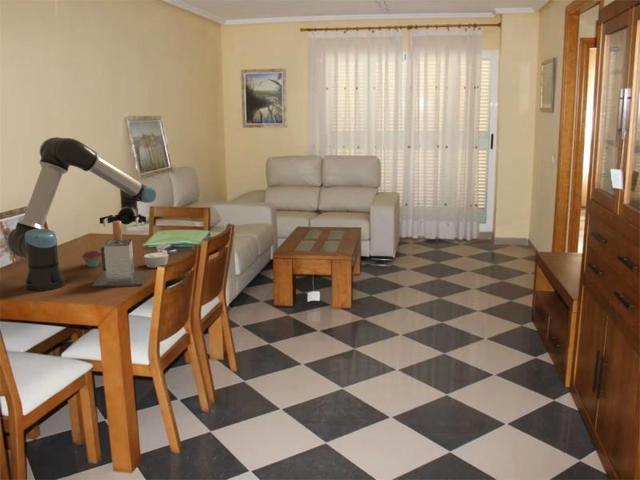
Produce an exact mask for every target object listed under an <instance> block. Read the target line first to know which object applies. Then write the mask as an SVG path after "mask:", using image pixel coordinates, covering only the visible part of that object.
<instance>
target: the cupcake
mask: <svg viewBox="0 0 640 480" xmlns="http://www.w3.org/2000/svg"><path fill="white" fill-rule="evenodd" d="M90 246H91V245H90V243H89V242H87V247H88V251H86V252H84V253H83V254H82V255H81V257H82V260H83V261H84V262H85V264H86V267H89V268H93V267H94V268H95V267H98V266H99V262H100V260H101V259H102V258H101V252H99V251H96V250H91V247H90Z"/></svg>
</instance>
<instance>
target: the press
mask: <svg viewBox="0 0 640 480" xmlns="http://www.w3.org/2000/svg"><path fill="white" fill-rule="evenodd" d="M100 254H101V258H100V259H101V269H102V271H103V272H104V273H99V275H98V276H97V277H96V280H95V281H94V283H93V284H92V286H91V287H92V289H101V288H103V289H105V288H123V287H124V288H126V287H142V286H143V285H144V283H145V280H146V278H147V275H148V271H135V266H134V253H133V239H123V240H121V241H120V243H117V241H114V239H110V240H106V242H105V243H104V245H103V246H101V247H100Z"/></svg>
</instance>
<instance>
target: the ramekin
mask: <svg viewBox="0 0 640 480" xmlns="http://www.w3.org/2000/svg"><path fill="white" fill-rule="evenodd" d="M143 259H144V262H145V265H146V267H147V268H152V269H157V268H156V267H157V266H158V265H166V264H168V261H169V253H166V252H149V253H146V254H144V255H143ZM166 266H167V265H166Z"/></svg>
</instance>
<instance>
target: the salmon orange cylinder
mask: <svg viewBox="0 0 640 480" xmlns="http://www.w3.org/2000/svg"><path fill="white" fill-rule="evenodd" d="M111 224H112V234H113V240H114V241H117V243H120V241H121V240H124V239H123V229H122V228H123V226H122V225H123V224H122V223H121V221H119V220H118V221H113V222H112V223H111Z"/></svg>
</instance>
